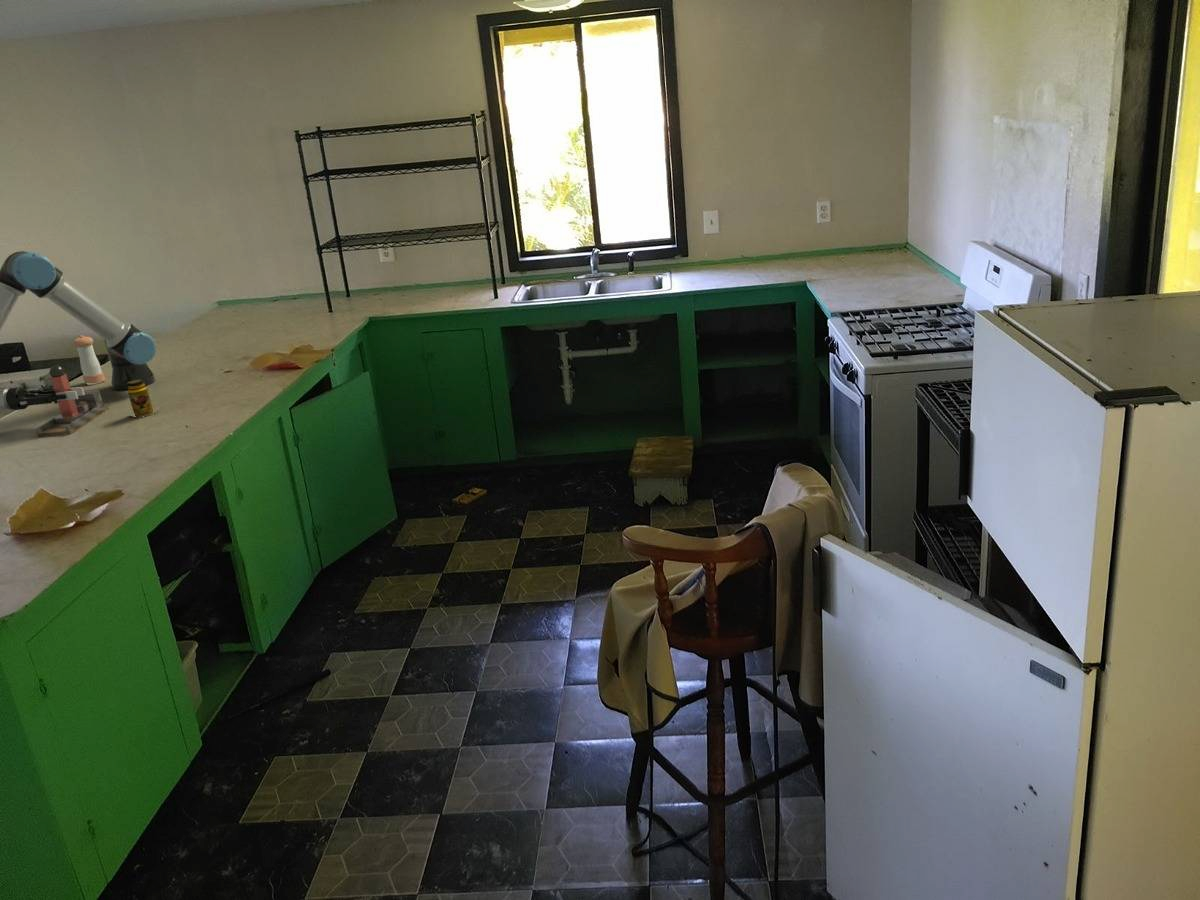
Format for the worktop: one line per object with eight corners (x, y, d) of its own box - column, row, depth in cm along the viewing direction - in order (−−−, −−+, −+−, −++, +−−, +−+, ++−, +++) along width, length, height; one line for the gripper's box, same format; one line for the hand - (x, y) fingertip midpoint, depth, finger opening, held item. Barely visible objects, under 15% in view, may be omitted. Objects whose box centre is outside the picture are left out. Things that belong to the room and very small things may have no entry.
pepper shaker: (99, 384, 367) (85, 337, 360) (81, 386, 367) (67, 338, 361) (108, 379, 374) (95, 332, 367) (91, 380, 374) (77, 333, 367)
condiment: (141, 418, 318) (132, 384, 313) (126, 416, 322) (116, 383, 318) (160, 411, 324) (151, 378, 319) (144, 409, 328) (135, 376, 323)
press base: (78, 411, 333) (72, 392, 330) (108, 409, 333) (103, 389, 330) (37, 437, 309) (31, 416, 306) (70, 434, 308) (64, 413, 306)
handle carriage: (70, 414, 325) (53, 361, 318) (91, 412, 325) (75, 359, 318) (56, 423, 316) (38, 369, 310) (78, 421, 316) (61, 367, 309)
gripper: (29, 402, 325) (95, 396, 325) (0, 417, 310) (70, 411, 309) (22, 381, 323) (89, 375, 322) (-7, 396, 307) (63, 389, 307)
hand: (79, 393), depth 316 cm, fingers closed on handle carriage, 3 cm apart
